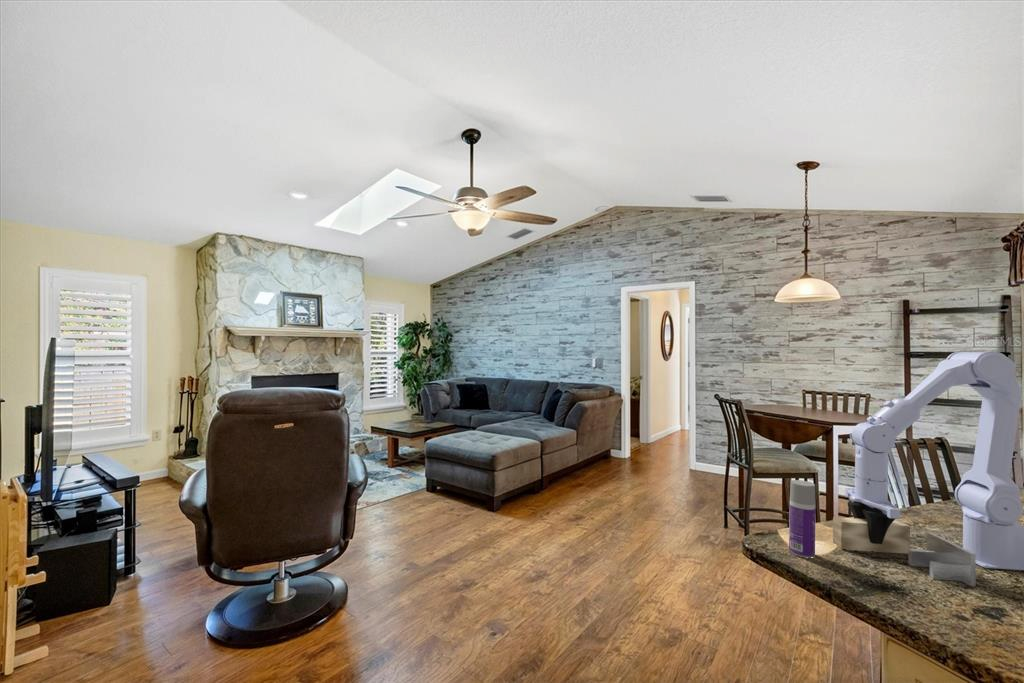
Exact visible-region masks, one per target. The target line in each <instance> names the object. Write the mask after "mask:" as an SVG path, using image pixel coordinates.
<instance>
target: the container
mask: <svg viewBox="0 0 1024 683" xmlns="http://www.w3.org/2000/svg"><path fill="white" fill-rule="evenodd" d="M789 491H790V492H789V510H788V511H789V512H788V513H789V515H788V516H789V521H788V523H789V526H788V527H789V529H788V535H789V536H788V551H789V550H790V551H791V552H792V553H794V554H796V555H798V556H801V557H808V558H811V557H814V556H816V514H817V513H816V511H817V510H816V507H817V506H816V484H815V483H813V482H810V481H806V480H799V479H793V480H790V490H789ZM798 556H797V557H798ZM801 557H800V558H801ZM808 558H807V559H808ZM814 558H815V557H814ZM811 559H812V558H811Z"/></svg>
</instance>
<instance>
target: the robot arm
mask: <svg viewBox="0 0 1024 683" xmlns="http://www.w3.org/2000/svg"><path fill="white" fill-rule="evenodd" d="M1016 371H1017V364H1016V363H1015V362H1014V361H1012V359H1010V358H1009V357H1007V356H1006V354H1004V353H1001V352H998V351H994V350H993V351H991V350H990V351H988V350H987V351H962V350H961V351H956V352H952V353H951V354H949V355H948V356H947V357H946V359H943V360H942V361H939V363H938V364H937V366H936V368H934V370H933V371H932V372H931V373H929V375H928V376H927V377H925V379H923V381H922V382H920V383H919V384H918V385H917V386H916V387H915V388H914V389H913V390H912V391H911V392H909V393H908V394H907V395H906V396H904V398H893V399H892V400H886V401H885V402H883V403H882V404H883V407H882V408H881V409H880V410H878V411H877V412H876V413H875V414H874V415H873V416H870V415H869V416H868V417H867V418H866V420H867V421H865V422H860V423H857V424H856V425H855V426H854V427H853V428H852V431H851V432H850V433H849V438H850V440H851V442H852V444H854V445H855V448H854V449H855V450H854V453H855V454H854V487H845V488H844V489H845V490H844V492H845V493H844V494H845V495H844V496H845V497H846V498H849V499H850V501H848V502H847V507H848V508H849V510H850V512H851V513H852V516H853V518H858V519H866V521H867V524H868V532H869V539H870V542H871V543H873V544H882V543H883V540H884V537H885V534H886V532H887V530H888V528H889V526H890V525H891V523H892V522H893V521H896V520H900V519H901V509H900V508H898V507H896V506H895V505H894V504H893V503H892V502H891V501H890V500H889V498H888V497H889V495H888V493H889V492H888V490H889V487H888V486H889V485H888V483H889V451H890V450H892V449H893V448H894V447H895V445H896V440H897V439H896V438H897V437H899V435H901V434H902V433H903V432H904V431H905V430H907V429H909V427H911V426H912V425H913V424H915V423H916V422H917V421H918V420H919V419H920V417H921V410H922V409H923V408H924V407H926V406H927V405H928V404H929V403H931V402H932V401H934V400H935V399H937V398H938V397H940V396H941V395H942V394H943V393H946V392H947V391H948V390H949V389H951V388H952V387H955V386H964V385H968V386H969V387H971V388H972V389H973V390H974V391H975V392H976V393H978V394H979V395H980V396H981V398H982V400H981V406H980V412H979V413H980V414H979V421H978V427H977V433H976V434H977V435H976V441H975V446H974V447H975V448H974V455H973V461H972V467H971V468H970V469H969V470H967V471H965V472H964V473H963V474H962V477H961V480H960V483H959V484H958V485H957V486H956V487H955V490H954V498H955V500H956V502H957V503H958V504H959V506H961V511H962V516H963V517H962V548H964V549H966V550H968V551H970V552H973V553H975V554H976V565H978V566H980V567H981V568H984V569H985V568H986V569H995V570H999V569H1000V570H1010V571H1011V570H1012V571H1024V525H1023V524H1022V523H1020V522H1019V520H1020V519H1021V518H1022V517H1023V513H1024V506H1023V503H1022V501H1021V497H1020V495H1021V489H1020V488H1019V486H1018V485H1017V484H1016V483H1015V482H1014V480H1013V479H1012V477H1011V476H1010V475H1011V470H1012V463H1013V456H1014V449H1015V444H1016V437H1017V436H1016V435H1017V430H1018V429H1017V428H1018V422H1019V416H1020V410H1021V409H1020V408H1021V401H1022V396H1023V391H1022V388H1021V385H1020V384H1019V380H1018V379H1017V375H1016Z"/></svg>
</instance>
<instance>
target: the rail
mask: <svg viewBox="0 0 1024 683" xmlns="http://www.w3.org/2000/svg"><path fill="white" fill-rule="evenodd" d="M833 543H834V544H836V545H837V546H838V547H840V548H841V549H846V550H845V551H855V550H857V551H856V552H858V551H859V552H871V551H874V552H876V553H889V554H891V553H892V554H907V555H908V549H911V526H910V525H909V524H907V523H905V522H903V521H901V520H894V521H893V522H892V523H891V525H890V526H889V528H888V530H887V532H886V534H885V537H884V540H883V543H882V544H873V543H871V542H870V539H869V532H868V524H867V521H866V519H858V518H854V517H838V516H836V517H835V516H834V517H832V544H833ZM834 544H833V545H834ZM837 546H836V547H837ZM838 547H837V548H838ZM841 549H840V550H841ZM874 552H873V553H874Z"/></svg>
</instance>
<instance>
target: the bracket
mask: <svg viewBox="0 0 1024 683" xmlns="http://www.w3.org/2000/svg"><path fill="white" fill-rule="evenodd" d="M907 555H908V556H907V559H908V560H907V562H908V564H907V565H909V566H910V567H921V568H922V567H924V568H929V578H931V579H932V580H942V581H944V580H945V581H957V582H958V581H960V582H963V583H965V584H966V585H968V586H970V587H976V569H977V568H976V565H977V564H976V554H975V553H973V552H970V551H968V550H966V549H964V548H963V546H960V545H958V544H956V543H954V542H952V541H950V540H947V539H945V538H943V537H941V536H940V535H937V534H935V533H934V532H926V550H925V549H911V548H910V549H908V554H907Z"/></svg>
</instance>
